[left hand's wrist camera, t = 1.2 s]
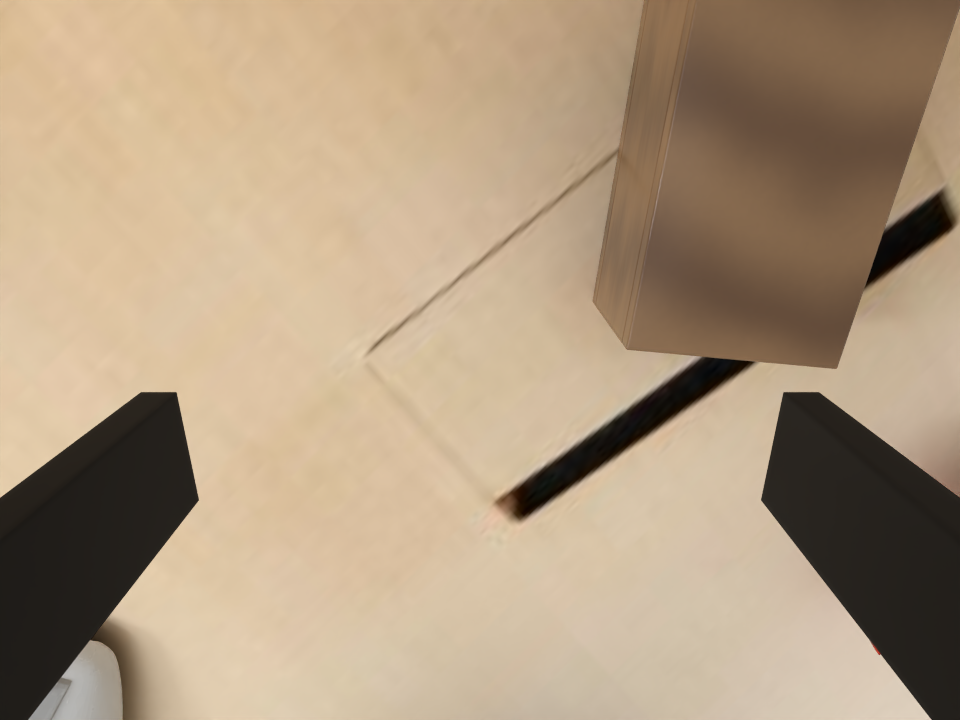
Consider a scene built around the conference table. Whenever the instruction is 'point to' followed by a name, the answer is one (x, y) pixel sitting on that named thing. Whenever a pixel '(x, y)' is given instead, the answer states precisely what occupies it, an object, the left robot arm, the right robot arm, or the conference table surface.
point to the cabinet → (761, 171)
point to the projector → (86, 689)
